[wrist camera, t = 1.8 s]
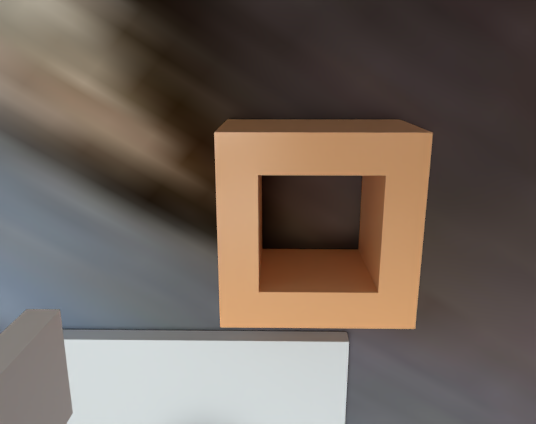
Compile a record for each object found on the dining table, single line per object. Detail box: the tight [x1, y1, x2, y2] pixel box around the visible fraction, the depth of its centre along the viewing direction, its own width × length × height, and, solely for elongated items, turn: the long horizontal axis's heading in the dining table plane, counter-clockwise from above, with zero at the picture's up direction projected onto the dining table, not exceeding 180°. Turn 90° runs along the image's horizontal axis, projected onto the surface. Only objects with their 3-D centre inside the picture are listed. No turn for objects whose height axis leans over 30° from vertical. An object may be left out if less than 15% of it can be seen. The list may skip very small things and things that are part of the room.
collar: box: [214, 119, 433, 329], centre depth 22 cm, size 8×8×5 cm
